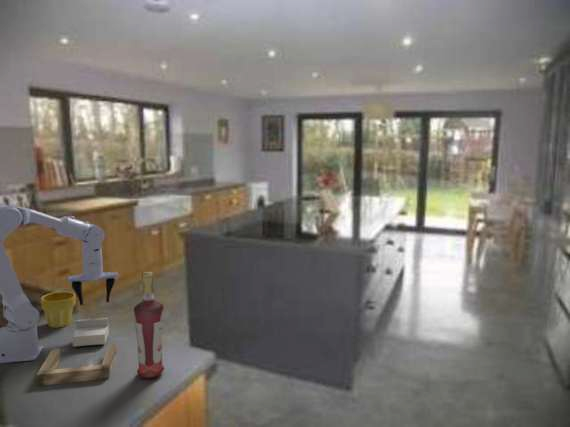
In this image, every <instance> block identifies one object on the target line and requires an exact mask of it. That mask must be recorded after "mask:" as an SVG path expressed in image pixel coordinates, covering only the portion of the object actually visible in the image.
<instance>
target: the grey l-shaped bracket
mask: <svg viewBox="0 0 570 427" xmlns="http://www.w3.org/2000/svg"><path fill="white" fill-rule="evenodd" d="M75 323H76V329H75V331H74V333H73V335H72V336H71V340H72V347H74V348H79V347H83V346H84V347H85V346H95V345H100V346H105V345H106V342H107V340H108V336H109V334H110V333H109V318H108V317H101V318H89V319H88V318H87V319H86V318H85V319H76V322H75Z"/></svg>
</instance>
